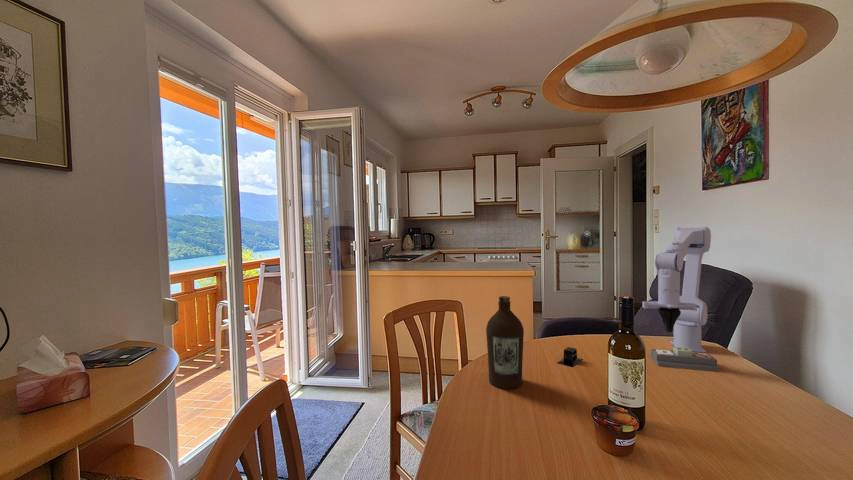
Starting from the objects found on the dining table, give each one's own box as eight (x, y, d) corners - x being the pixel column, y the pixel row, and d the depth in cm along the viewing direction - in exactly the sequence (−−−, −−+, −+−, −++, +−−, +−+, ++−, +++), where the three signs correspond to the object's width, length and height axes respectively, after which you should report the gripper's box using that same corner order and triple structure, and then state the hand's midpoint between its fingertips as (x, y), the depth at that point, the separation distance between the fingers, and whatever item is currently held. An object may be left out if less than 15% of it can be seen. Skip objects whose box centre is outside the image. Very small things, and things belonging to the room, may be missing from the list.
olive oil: (486, 373, 106) (485, 293, 105) (521, 375, 105) (521, 293, 104) (487, 389, 96) (486, 300, 95) (526, 391, 94) (525, 301, 93)
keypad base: (650, 356, 117) (650, 347, 117) (706, 361, 112) (706, 352, 112) (657, 365, 110) (658, 355, 110) (718, 371, 105) (718, 361, 104)
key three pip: (691, 358, 112) (691, 351, 112) (705, 359, 111) (705, 353, 110) (696, 362, 108) (696, 356, 108) (711, 364, 107) (711, 357, 107)
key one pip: (655, 355, 115) (655, 349, 115) (669, 356, 114) (669, 350, 114) (659, 359, 111) (659, 353, 111) (674, 360, 110) (674, 354, 110)
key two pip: (673, 352, 113) (673, 346, 113) (687, 353, 112) (687, 347, 112) (677, 356, 110) (677, 350, 109) (692, 358, 108) (692, 351, 108)
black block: (573, 371, 108) (573, 356, 108) (551, 365, 113) (551, 351, 113) (588, 360, 117) (588, 346, 117) (566, 354, 122) (566, 342, 122)
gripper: (646, 290, 110) (646, 332, 110) (701, 292, 105) (700, 336, 106) (640, 287, 117) (640, 326, 117) (691, 288, 112) (691, 330, 112)
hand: (668, 331), depth 112 cm, fingers closed
